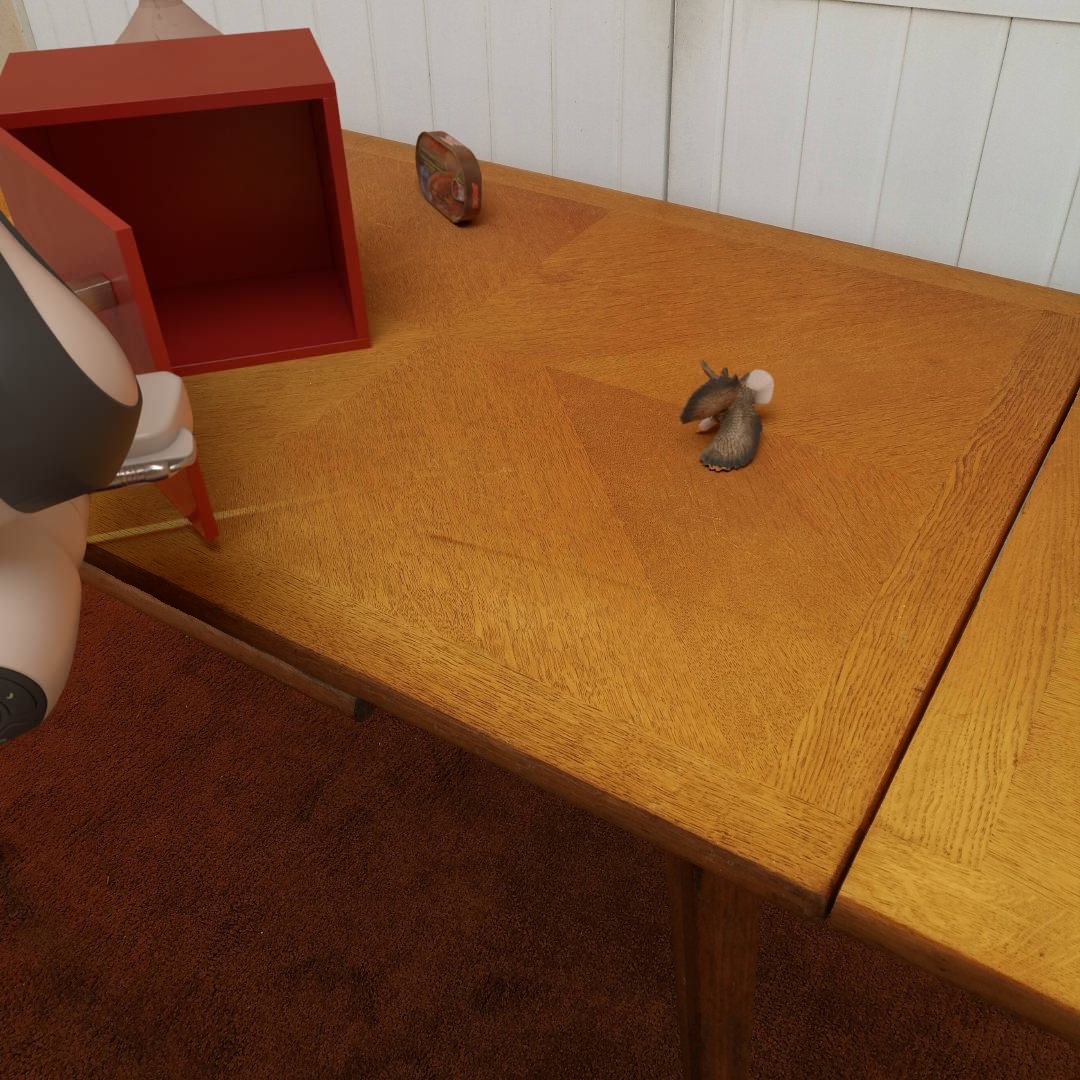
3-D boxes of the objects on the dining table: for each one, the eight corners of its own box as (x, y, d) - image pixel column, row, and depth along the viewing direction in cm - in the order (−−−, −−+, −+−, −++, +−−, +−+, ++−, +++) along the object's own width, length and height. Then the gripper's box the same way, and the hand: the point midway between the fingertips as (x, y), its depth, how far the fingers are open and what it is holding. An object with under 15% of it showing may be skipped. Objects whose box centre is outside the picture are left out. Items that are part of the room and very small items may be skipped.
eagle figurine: (671, 393, 88) (655, 432, 80) (724, 331, 84) (713, 367, 76) (738, 446, 88) (728, 490, 81) (793, 388, 85) (789, 428, 77)
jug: (139, 148, 140) (72, -104, 121) (269, 139, 142) (224, -110, 123) (121, 201, 125) (41, -76, 106) (266, 190, 128) (214, -84, 108)
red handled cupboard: (138, 573, 72) (21, 257, 56) (15, 419, 87) (-102, 138, 72) (219, 536, 75) (131, 226, 59) (87, 393, 91) (-10, 118, 75)
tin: (415, 191, 127) (409, 122, 121) (438, 186, 128) (433, 118, 123) (464, 234, 117) (459, 161, 111) (488, 229, 118) (485, 156, 112)
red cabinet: (371, 348, 97) (335, 81, 81) (83, 393, 91) (-17, 115, 75) (345, 270, 110) (309, 27, 94) (92, 304, 104) (8, 52, 88)
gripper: (184, 423, 55) (180, 311, 65) (-234, 490, 51) (-168, 359, 61) (209, 513, 59) (202, 394, 69) (-175, 582, 55) (-122, 444, 65)
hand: (26, 378), depth 65 cm, fingers open, 4 cm apart
